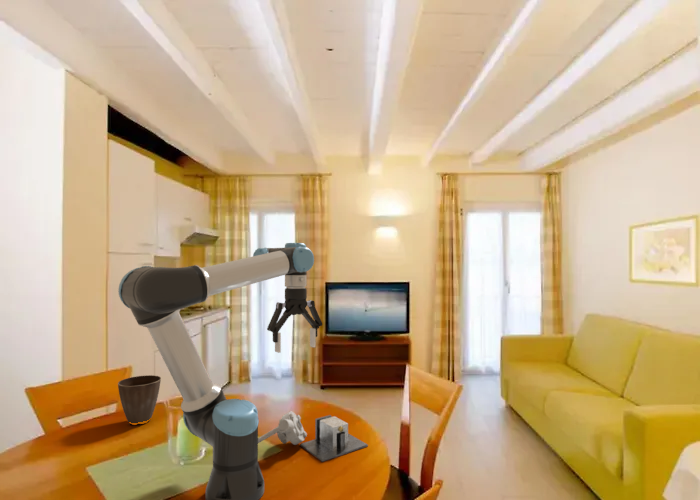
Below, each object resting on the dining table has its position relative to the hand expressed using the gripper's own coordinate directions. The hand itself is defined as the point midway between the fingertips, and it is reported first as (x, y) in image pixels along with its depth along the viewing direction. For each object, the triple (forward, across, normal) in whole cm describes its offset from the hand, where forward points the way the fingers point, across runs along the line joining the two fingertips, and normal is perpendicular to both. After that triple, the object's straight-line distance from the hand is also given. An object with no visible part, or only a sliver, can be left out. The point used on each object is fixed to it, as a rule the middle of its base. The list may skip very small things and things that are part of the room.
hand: (295, 349), depth 142 cm
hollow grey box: (+31, +9, -10) cm, 34 cm away
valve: (+32, -7, 0) cm, 32 cm away
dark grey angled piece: (+32, +9, -10) cm, 34 cm away
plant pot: (+32, -40, +52) cm, 73 cm away
